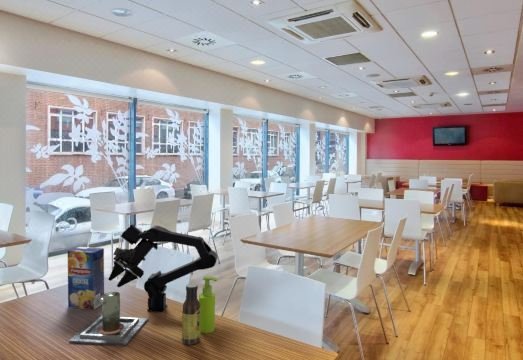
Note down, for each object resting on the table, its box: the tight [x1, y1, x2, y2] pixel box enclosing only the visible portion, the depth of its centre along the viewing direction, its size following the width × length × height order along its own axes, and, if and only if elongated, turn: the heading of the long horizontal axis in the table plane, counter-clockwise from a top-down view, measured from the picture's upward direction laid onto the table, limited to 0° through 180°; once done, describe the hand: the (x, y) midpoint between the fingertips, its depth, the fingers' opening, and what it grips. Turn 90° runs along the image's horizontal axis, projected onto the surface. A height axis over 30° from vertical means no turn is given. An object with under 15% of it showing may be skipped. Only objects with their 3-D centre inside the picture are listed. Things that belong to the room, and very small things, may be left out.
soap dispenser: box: [198, 276, 219, 334], centre depth 139 cm, size 6×7×20 cm
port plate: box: [68, 315, 149, 347], centre depth 137 cm, size 20×20×2 cm
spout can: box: [99, 291, 121, 332], centre depth 136 cm, size 8×6×13 cm
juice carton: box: [67, 246, 105, 311], centre depth 159 cm, size 12×8×24 cm, turn 79°
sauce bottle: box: [181, 283, 201, 345], centre depth 131 cm, size 6×6×20 cm
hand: (113, 283), depth 148 cm, fingers open, 9 cm apart
